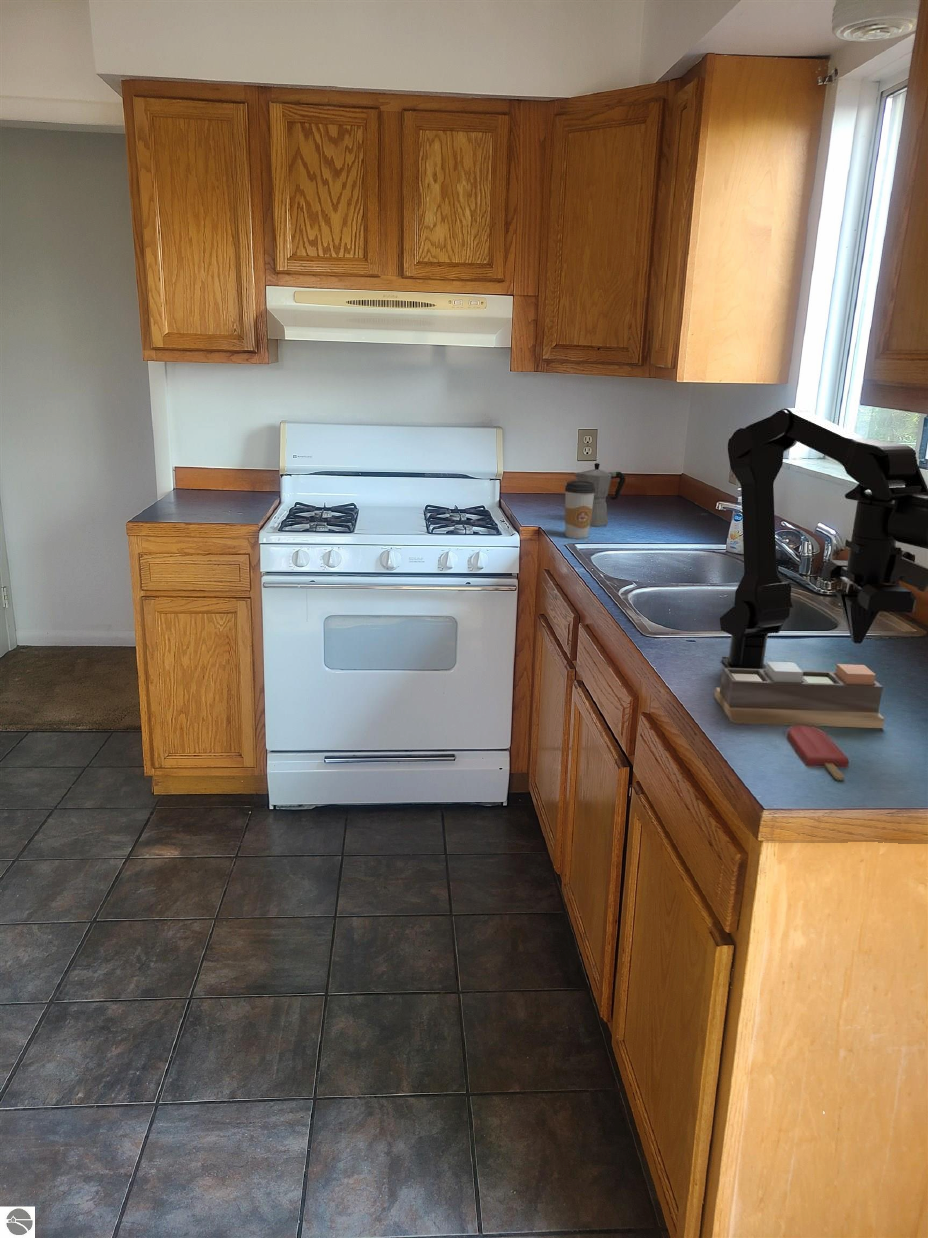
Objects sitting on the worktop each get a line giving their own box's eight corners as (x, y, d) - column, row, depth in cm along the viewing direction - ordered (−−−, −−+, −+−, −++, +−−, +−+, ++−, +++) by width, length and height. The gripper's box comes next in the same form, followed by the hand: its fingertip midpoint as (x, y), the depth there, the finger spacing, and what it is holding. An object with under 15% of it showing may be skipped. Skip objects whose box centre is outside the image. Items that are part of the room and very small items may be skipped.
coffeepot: (573, 526, 264) (578, 464, 258) (567, 520, 273) (571, 460, 267) (625, 527, 265) (630, 465, 260) (617, 521, 274) (622, 461, 269)
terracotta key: (833, 683, 134) (837, 664, 133) (860, 684, 134) (864, 665, 133) (844, 693, 130) (847, 673, 129) (872, 694, 130) (875, 674, 129)
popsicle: (820, 772, 112) (781, 723, 126) (818, 784, 112) (780, 734, 126) (863, 774, 112) (820, 725, 126) (861, 785, 112) (818, 735, 126)
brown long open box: (714, 696, 138) (718, 662, 136) (854, 701, 138) (860, 667, 136) (732, 723, 128) (737, 687, 127) (882, 728, 128) (889, 692, 127)
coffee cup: (567, 540, 245) (571, 485, 241) (557, 533, 253) (560, 480, 248) (596, 539, 247) (600, 484, 242) (585, 533, 255) (589, 480, 250)
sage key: (797, 694, 135) (799, 675, 134) (823, 695, 135) (826, 676, 134) (806, 705, 131) (809, 685, 130) (834, 705, 131) (837, 686, 130)
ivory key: (727, 692, 135) (729, 673, 134) (754, 693, 135) (756, 674, 134) (734, 702, 131) (737, 683, 130) (762, 703, 131) (765, 684, 130)
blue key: (764, 680, 134) (766, 661, 133) (790, 681, 134) (793, 662, 133) (772, 690, 130) (775, 671, 129) (800, 691, 130) (803, 672, 129)
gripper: (966, 552, 116) (944, 667, 121) (903, 525, 134) (886, 625, 139) (879, 549, 116) (860, 663, 121) (828, 522, 134) (813, 623, 139)
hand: (856, 642), depth 130 cm, fingers closed
